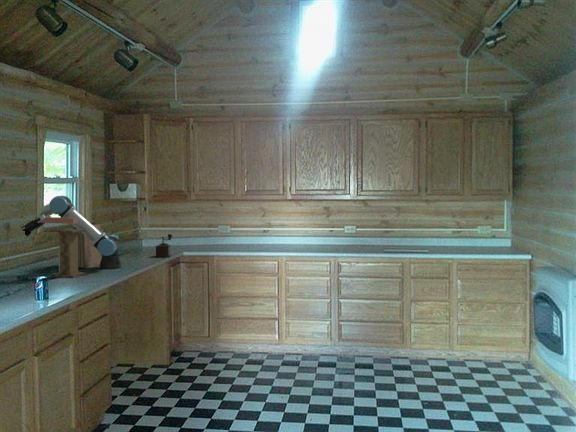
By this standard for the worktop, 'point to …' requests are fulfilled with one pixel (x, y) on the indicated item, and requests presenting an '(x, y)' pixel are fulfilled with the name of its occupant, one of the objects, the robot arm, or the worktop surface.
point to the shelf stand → (68, 253)
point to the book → (88, 250)
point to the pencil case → (59, 220)
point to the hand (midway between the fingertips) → (47, 216)
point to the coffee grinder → (164, 248)
